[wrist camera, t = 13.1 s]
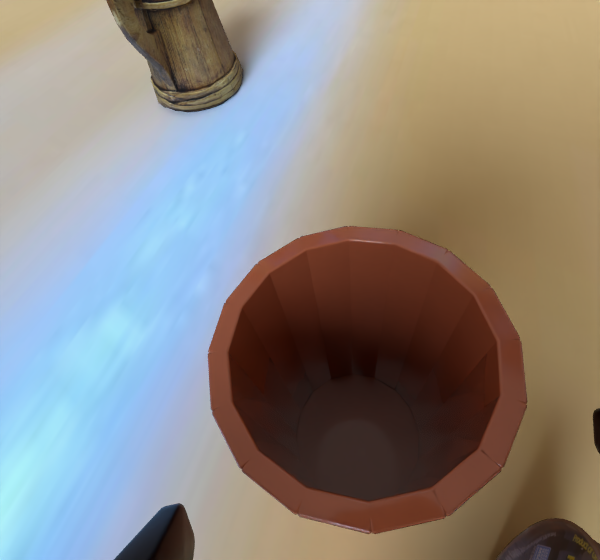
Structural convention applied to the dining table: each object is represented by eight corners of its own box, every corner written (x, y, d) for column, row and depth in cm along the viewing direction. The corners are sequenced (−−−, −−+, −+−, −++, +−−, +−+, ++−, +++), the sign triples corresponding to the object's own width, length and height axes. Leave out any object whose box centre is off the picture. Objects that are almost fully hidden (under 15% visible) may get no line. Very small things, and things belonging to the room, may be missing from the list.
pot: (385, 552, 16) (441, 634, 6) (263, 457, 19) (146, 394, 8) (449, 415, 19) (569, 297, 8) (333, 348, 21) (312, 193, 11)
